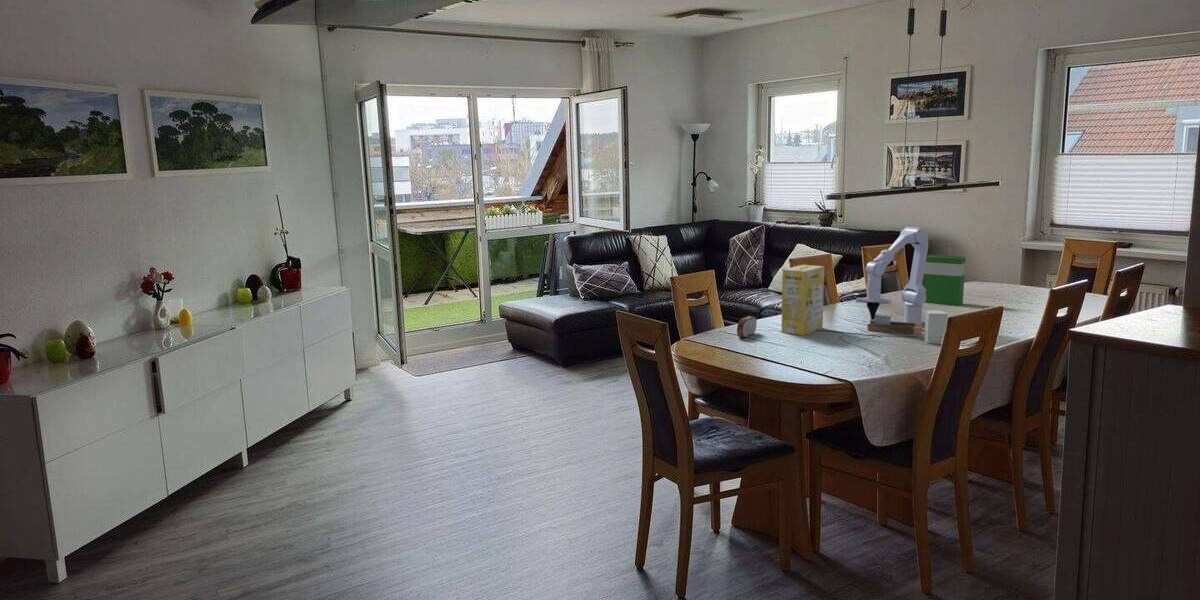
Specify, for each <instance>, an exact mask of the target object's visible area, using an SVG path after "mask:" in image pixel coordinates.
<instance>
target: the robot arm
mask: <svg viewBox="0 0 1200 600" xmlns="http://www.w3.org/2000/svg"><path fill="white" fill-rule="evenodd" d="M899 233H900V234H899V236H898V237H897V239H896V240H895V241H894V242H893V243H892V244H891V246H890V247H889V248H888V249H884V250H881V251H880V253H879V254H878V256H876V257H875V258H874V259H873V260H872V261H869V262H867V263H866V266H865V267H864V271H865V274H866V278H867V281H866V283H867V284H866V291H867V292H866V297H856V299H855V302H856V303H861V304H863V303H864V304H866V307H867V309H868V311H869V314H870V320H875V316H876V314H877V311H878V309H879V306H881V305H891V304H892V299H889V298H881V295H882V293H881V292H882V275H884V274H885V271H886V269H887V266H888V265H890V263H891V262H892V261H893V260H894V259H895V255H896V254H897V253H898V252H899V251H900V250H901V249H902V248H904V247H905V245H907V244H910V245H912V247H913V248H914V250H913V257H912V263H911V271H910V276H909V281H908V283H907V284H906V285H905V286H904V288H903V291H902V293H901V299H902V301H903V304H904V319H903V322H909V323H923V322H924V321H923V320H922V315H923V311H922V310H923V306H924V304H926V303H925V301H926V289H925V288H924V286H923V282H924V270H925V264H926V258H927V256H928V251H929V232H928V231H927V229H925V228H924V227H914V226H909V225H908V226H905V227H904V228H903V229H902V230H901V231H900V232H899Z"/></svg>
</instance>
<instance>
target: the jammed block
mask: <svg viewBox="0 0 1200 600" xmlns="http://www.w3.org/2000/svg"><path fill="white" fill-rule="evenodd" d="M891 317H892V316H891V314H879V313H876V314H875V319H874V320H875V324H880V325H890V321H891Z"/></svg>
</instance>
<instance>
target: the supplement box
mask: <svg viewBox="0 0 1200 600" xmlns="http://www.w3.org/2000/svg"><path fill="white" fill-rule="evenodd" d="M946 319H947V320H948V313H947V312H946V311H944V310H938V309H937V310H936V309H935V310H931V309H930V310H925V313H924V326H923V329H924V331H923V341H925V343H927V344H933V345H934V344H935V345H936V344H937V345H939V344H941V341H942V338H943V334H944V331H945V326H946ZM946 327H947V326H946ZM941 345H942V344H941Z"/></svg>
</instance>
